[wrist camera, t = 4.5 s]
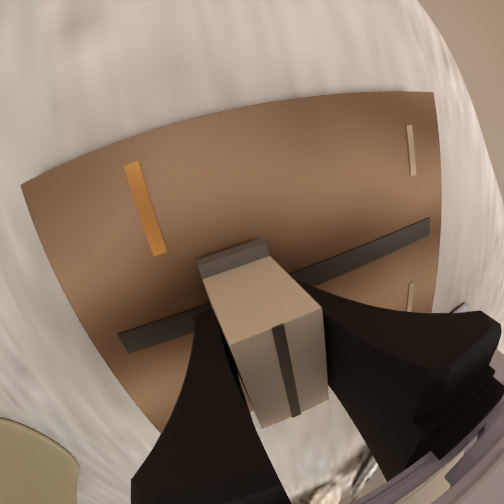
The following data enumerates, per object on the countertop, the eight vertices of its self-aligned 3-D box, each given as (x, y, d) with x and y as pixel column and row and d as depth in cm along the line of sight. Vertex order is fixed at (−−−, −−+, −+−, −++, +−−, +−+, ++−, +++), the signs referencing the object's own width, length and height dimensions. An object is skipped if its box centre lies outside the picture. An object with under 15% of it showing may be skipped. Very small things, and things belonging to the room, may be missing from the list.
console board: (411, 304, 19) (431, 318, 17) (161, 412, 15) (165, 439, 13) (406, 93, 13) (434, 92, 11) (40, 177, 9) (19, 185, 7)
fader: (284, 342, 12) (329, 407, 9) (232, 362, 12) (265, 436, 8) (261, 237, 10) (321, 291, 7) (195, 260, 10) (223, 330, 6)
